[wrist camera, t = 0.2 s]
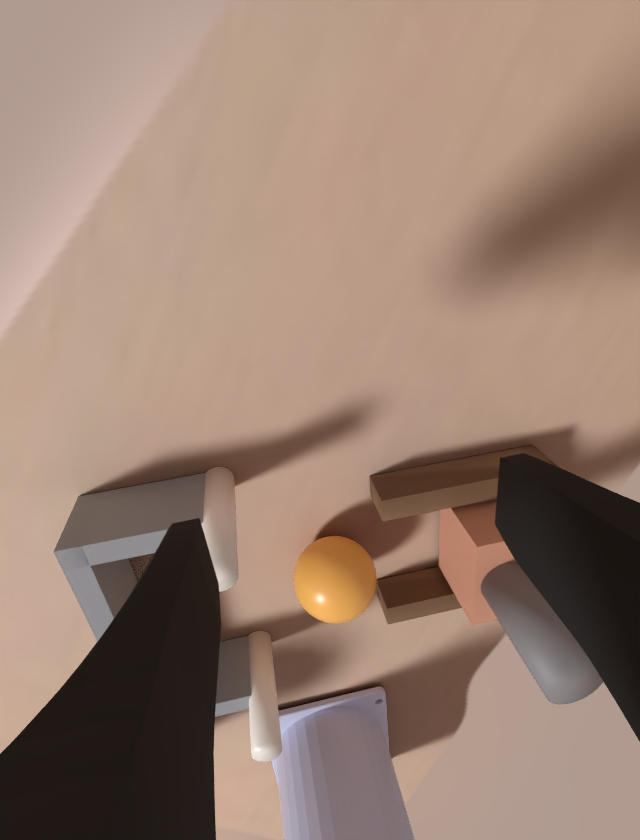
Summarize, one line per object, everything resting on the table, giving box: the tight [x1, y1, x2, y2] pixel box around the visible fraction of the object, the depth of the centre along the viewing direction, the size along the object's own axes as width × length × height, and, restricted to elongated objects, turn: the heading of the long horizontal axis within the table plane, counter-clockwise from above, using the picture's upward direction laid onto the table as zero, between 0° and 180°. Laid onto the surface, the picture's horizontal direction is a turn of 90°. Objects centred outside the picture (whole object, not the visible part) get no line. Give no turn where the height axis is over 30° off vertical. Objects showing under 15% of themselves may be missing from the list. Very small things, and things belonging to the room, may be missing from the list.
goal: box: [54, 467, 282, 761], centre depth 21 cm, size 12×7×6 cm, turn 6°
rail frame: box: [370, 445, 557, 624], centre depth 25 cm, size 8×8×2 cm
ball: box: [294, 536, 377, 623], centre depth 23 cm, size 4×4×4 cm
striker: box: [439, 499, 603, 704], centre depth 21 cm, size 5×3×9 cm, turn 6°
